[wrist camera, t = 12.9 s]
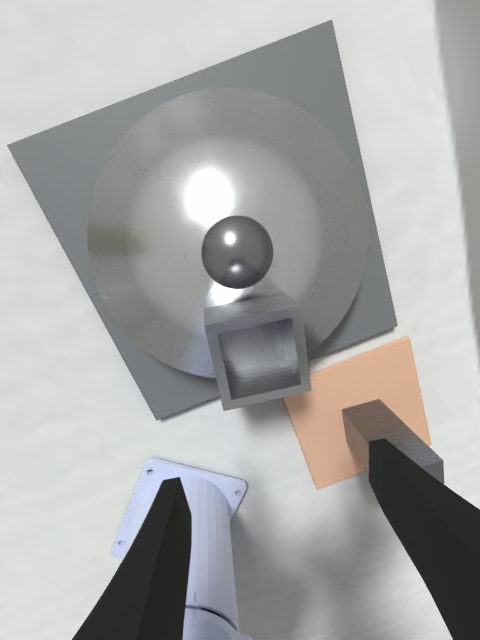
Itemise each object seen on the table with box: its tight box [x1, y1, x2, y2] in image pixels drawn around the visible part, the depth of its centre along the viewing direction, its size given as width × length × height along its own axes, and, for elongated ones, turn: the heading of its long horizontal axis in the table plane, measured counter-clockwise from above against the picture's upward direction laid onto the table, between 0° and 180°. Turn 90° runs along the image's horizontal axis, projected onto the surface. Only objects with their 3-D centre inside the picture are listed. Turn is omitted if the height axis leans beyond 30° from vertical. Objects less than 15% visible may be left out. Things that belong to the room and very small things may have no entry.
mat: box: [283, 337, 431, 490], centre depth 24 cm, size 10×10×1 cm
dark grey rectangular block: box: [341, 399, 444, 484], centre depth 21 cm, size 3×3×6 cm
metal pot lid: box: [87, 87, 369, 411], centre depth 16 cm, size 15×15×5 cm
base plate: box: [7, 20, 398, 421], centre depth 19 cm, size 18×18×1 cm
